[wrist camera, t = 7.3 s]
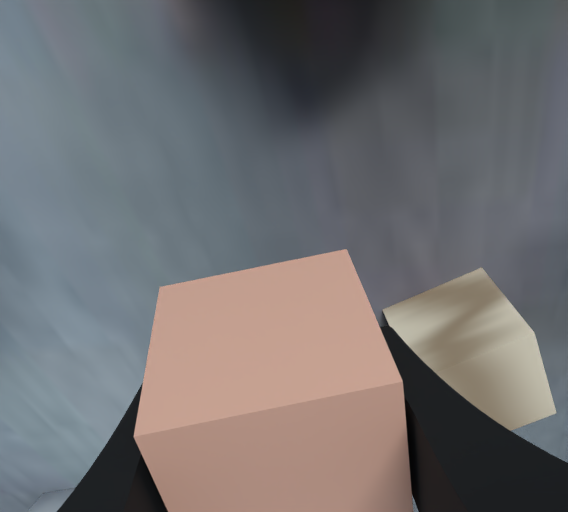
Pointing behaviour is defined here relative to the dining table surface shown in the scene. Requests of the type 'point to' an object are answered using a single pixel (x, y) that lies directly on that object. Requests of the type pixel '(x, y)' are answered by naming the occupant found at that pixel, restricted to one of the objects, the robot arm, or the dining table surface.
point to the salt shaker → (51, 501)
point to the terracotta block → (274, 394)
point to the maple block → (477, 347)
